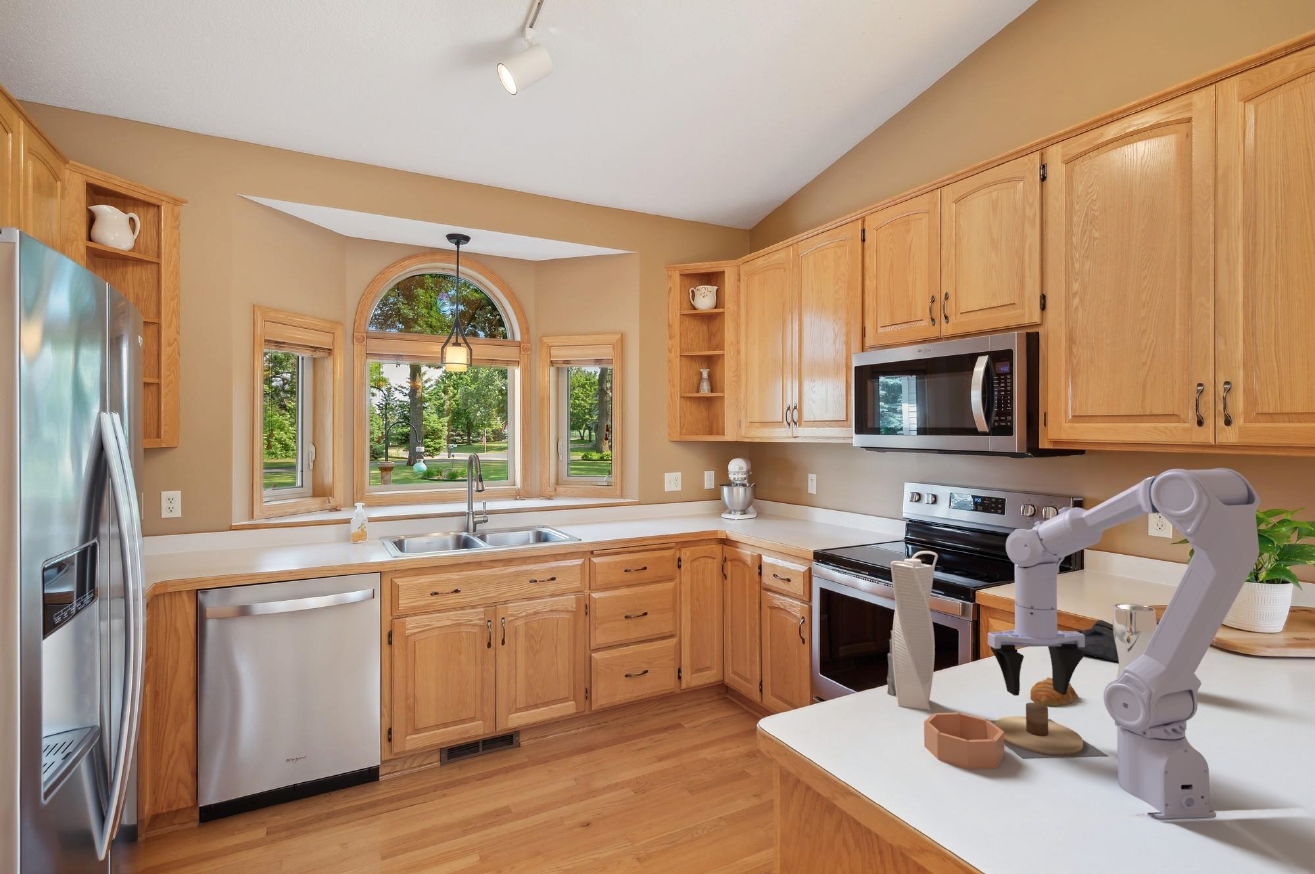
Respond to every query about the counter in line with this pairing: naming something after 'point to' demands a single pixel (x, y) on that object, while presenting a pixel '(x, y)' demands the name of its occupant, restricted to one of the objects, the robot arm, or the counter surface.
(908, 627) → the skyscraper
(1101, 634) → the dark slate chunk
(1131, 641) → the beer glass
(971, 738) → the bowl
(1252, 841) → the counter surface
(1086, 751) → the mat
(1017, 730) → the lid
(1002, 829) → the counter surface
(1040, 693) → the pastry
